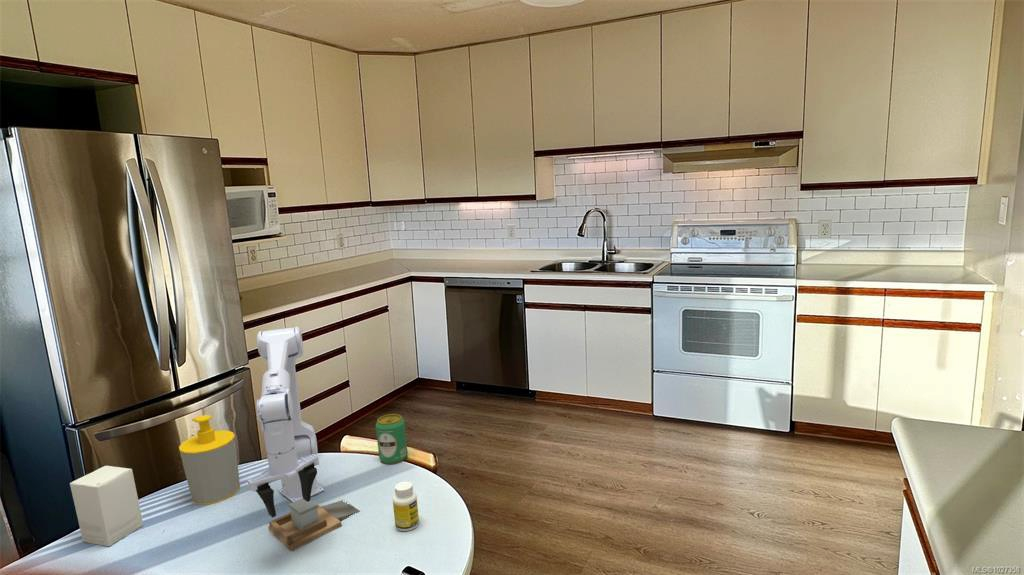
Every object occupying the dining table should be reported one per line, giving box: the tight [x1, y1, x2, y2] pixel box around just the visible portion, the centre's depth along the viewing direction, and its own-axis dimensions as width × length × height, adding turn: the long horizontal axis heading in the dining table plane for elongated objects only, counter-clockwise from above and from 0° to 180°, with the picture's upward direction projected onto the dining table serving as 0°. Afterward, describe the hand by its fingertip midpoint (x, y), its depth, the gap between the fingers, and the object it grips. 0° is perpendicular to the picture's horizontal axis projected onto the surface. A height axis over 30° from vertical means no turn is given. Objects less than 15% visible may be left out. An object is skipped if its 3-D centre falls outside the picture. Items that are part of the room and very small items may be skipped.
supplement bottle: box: [392, 481, 420, 532], centre depth 132 cm, size 5×5×10 cm
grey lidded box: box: [288, 498, 319, 530], centre depth 133 cm, size 6×4×5 cm
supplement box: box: [69, 465, 144, 547], centre depth 136 cm, size 9×9×15 cm
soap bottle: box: [178, 414, 241, 506], centre depth 151 cm, size 13×13×21 cm
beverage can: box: [375, 413, 408, 465], centre depth 165 cm, size 8×8×12 cm
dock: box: [268, 499, 361, 552], centre depth 136 cm, size 12×18×3 cm, turn 135°
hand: (289, 507), depth 125 cm, fingers open, 7 cm apart
